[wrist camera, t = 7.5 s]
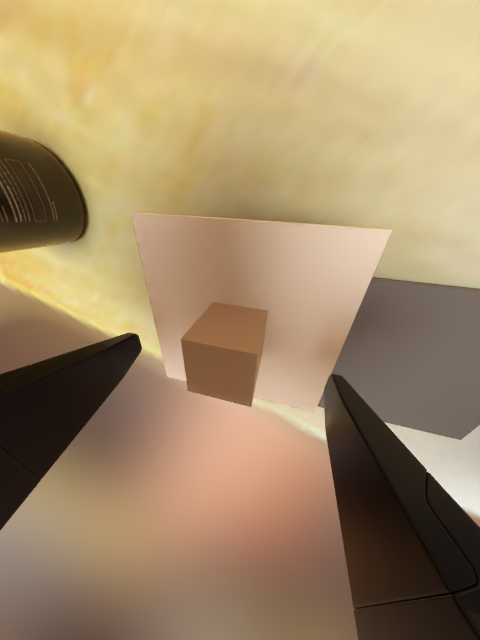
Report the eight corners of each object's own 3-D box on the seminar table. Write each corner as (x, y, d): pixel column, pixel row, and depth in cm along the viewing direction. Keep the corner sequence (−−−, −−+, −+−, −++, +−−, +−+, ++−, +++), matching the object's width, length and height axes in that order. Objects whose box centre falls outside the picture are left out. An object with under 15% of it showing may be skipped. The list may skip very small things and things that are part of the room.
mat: (613, 303, 10) (626, 307, 10) (456, 434, 17) (460, 439, 16) (352, 275, 12) (354, 277, 12) (306, 399, 19) (307, 403, 18)
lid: (381, 227, 8) (471, 242, 4) (313, 399, 13) (321, 474, 9) (145, 212, 10) (47, 212, 6) (173, 367, 15) (134, 418, 11)
